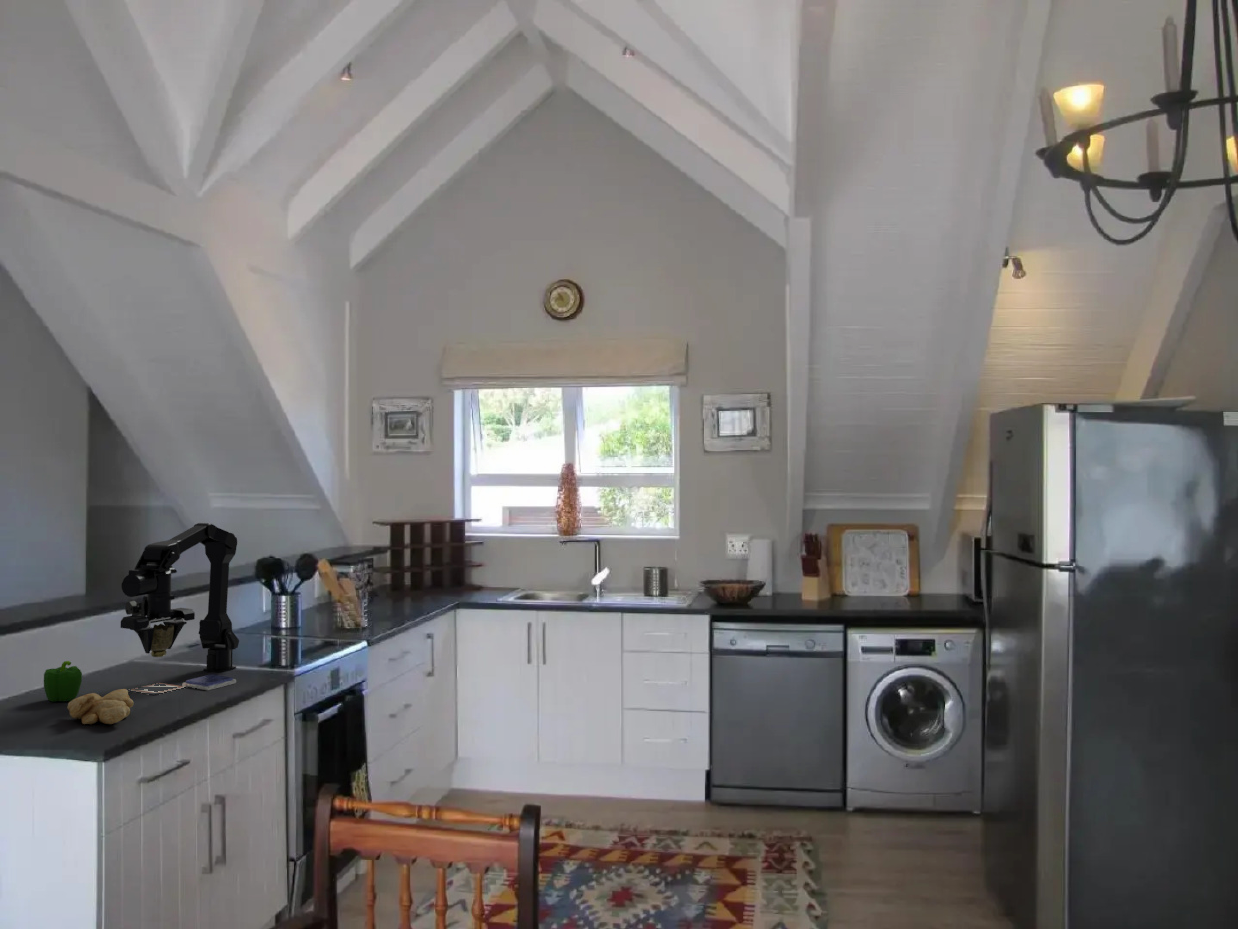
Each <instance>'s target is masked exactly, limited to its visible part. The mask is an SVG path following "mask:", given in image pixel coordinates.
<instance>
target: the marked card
mask: <svg viewBox="0 0 1238 929" xmlns="http://www.w3.org/2000/svg"><path fill="white" fill-rule="evenodd" d="M158 683H159V684H165V685H166V686H160V685H159V686H154V685H155V683H151V684H152V685H151V684H148V685H144V686H143V685H142V687H177V688H173V689H168V690H164V691H158V692H154V691H148V689H144V690H135V689H138V687H135V689H134V688H131V691H136V692H141V693H140V694H142V693H163V694H165V693H164V692H167V691H171V692H173V691H172V690H176V689H180V690H182V689H181V688H184V686H183V685H176V684H172V683H171V684H169V683H163V682H156V684H158ZM184 689H185V688H184ZM176 691H177V690H176ZM136 692H135V693H136ZM167 693H168V692H167Z"/></svg>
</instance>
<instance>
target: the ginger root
mask: <svg viewBox="0 0 1238 929" xmlns="http://www.w3.org/2000/svg"><path fill="white" fill-rule="evenodd" d="M128 690H129V689H128ZM128 690H127V689H126V688H123V689H122V688H119V689H116V690H115V689H114V690H112V691H110V692H109V693H107V694H105V695H104V696H100V694H97V693H95V692H91V693H86V694H84V695H81V696H78V697H76V698H75V699H73V700H70V701H68V704H67V707H66V708H67V710H68V712H69V715H70V717H71V718H73V719H77V718H78V719H79V720H80V719H81V723H82V724H83V725H85V724H90V725H92V724H96V723H97V722H98V723H99V722H100V723H103V724H104V725H105V724H106V725H112V724H115V723H118V722H121V721H122V720H123V719H125V718H127V717H128V716H129V715H130V714H131V709H130V708H132V707H133V706H134V701H133V699H131V698H130V697H131V696H130V695H129V691H128ZM78 719H77V720H78Z"/></svg>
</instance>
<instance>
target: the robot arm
mask: <svg viewBox="0 0 1238 929" xmlns="http://www.w3.org/2000/svg"><path fill="white" fill-rule="evenodd" d="M198 544H200V545H201V544H202V546H204V551H205V553H204V554H205V556H206V558H207V559H208V561H209V563H210V564H209V565H210V566H209V567H210V568H209V569H210V570H209V587H208V604H207V614H206V616H204V618H203V619H200V620H199V630H198V635H199V640H200V642H201V647H202V649H204V650H205V649H207V654H206V667H204V668H203V671H208V672H215V673H221V672H225V671H230V670H234V669H237V666H236V665H235V666H234V665H233V650H236V649H237V648H238V647H239V643H240V639H239V638H238V637H237V636H236V634H235V633H234V632H233V623H232V621H231V619H230V616H229V615H228V612H227V610H228V609H227V608H228V593H229V592H228V591H229V573H230V572H229V571H230V563H231V562H232V560H233V558H234V557H235V555H236V553H237V546H238V538H237V537H236V535H235V534H234V533H233V532H229V531H227V530H225V529H222V528H219V527H218V526H216V525H214V524H213V523H210V522H209V523H208V522H198V523H195V524H194V525H193V526H192V527H190V528H188V529H186V530H184V531H183V532H181V533H179V534H176V536H173V537H172V538H170V539H167V540H161V541H156V542H153V543H149V544H147V545H146V546H145V547H144V549H143V552H142V554H140V557H139V559H138V561H137V563H136V565H135V567H134V569H129V570H128V574H127V575H126V576H125V577H124V578H123V580H122V582H121V590H122V592H123V594H124V595H125V596H127V597H128V598H135V597H141V596H142V602H136V601H135V600H132V601H127V602H126V603H125V606H124V607H125V608H124V610H125V614H126V615H127V616H123V617H122V618H121V620H120V628H121V629H125V630H130V631H134V633H136V635H137V636H138V638H139V640H140V642H141V645H142V648H143V650H144V652H145V654H151V645H152V639H153V633H154V628H153V627H151V624H156V623H161V622H162V624H163V625H164V626H166V624H168V627H169V626H170V625H174V632H173V639H172V644H171V646H170V647H169V648H168V649H167V650H171V649H172V647H173V645H174V643H175V642H176V640H177V638H178V636H179V634H180V632H181V630H182V629H183V627H184V626H185V625H187V623H188V622H187V621H193V620H195V617H196V616H195V615H196V614H195V611H194V610H193V609H192V608H186V607H177V608H171V607H172V600H175V595H174V594H172V574H176V573H177V572H178V570H177V569H176V568H175V567H173V565H174V564H175V563H177V562H178V561H179V560H180V558H181V555H182V554H183V553H184V552H186V551H188V550H189V549H191V548H193V547H194V546H196V545H198Z"/></svg>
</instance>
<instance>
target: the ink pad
mask: <svg viewBox="0 0 1238 929" xmlns="http://www.w3.org/2000/svg"><path fill="white" fill-rule="evenodd" d="M234 684H237V679H235V678H233V677H232V676H226V675H225V676H224V675H218V674H212V673H211V674H207V675H203V676H198V677H194V678H191V679H187V680H185V682H184V681H183V682H182V686H184V687H186V688H188V687H192V688H191V689H195V688H197V690H203V691H211V690H215V689H220V688H223V687H227V686H230V685H234Z"/></svg>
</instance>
